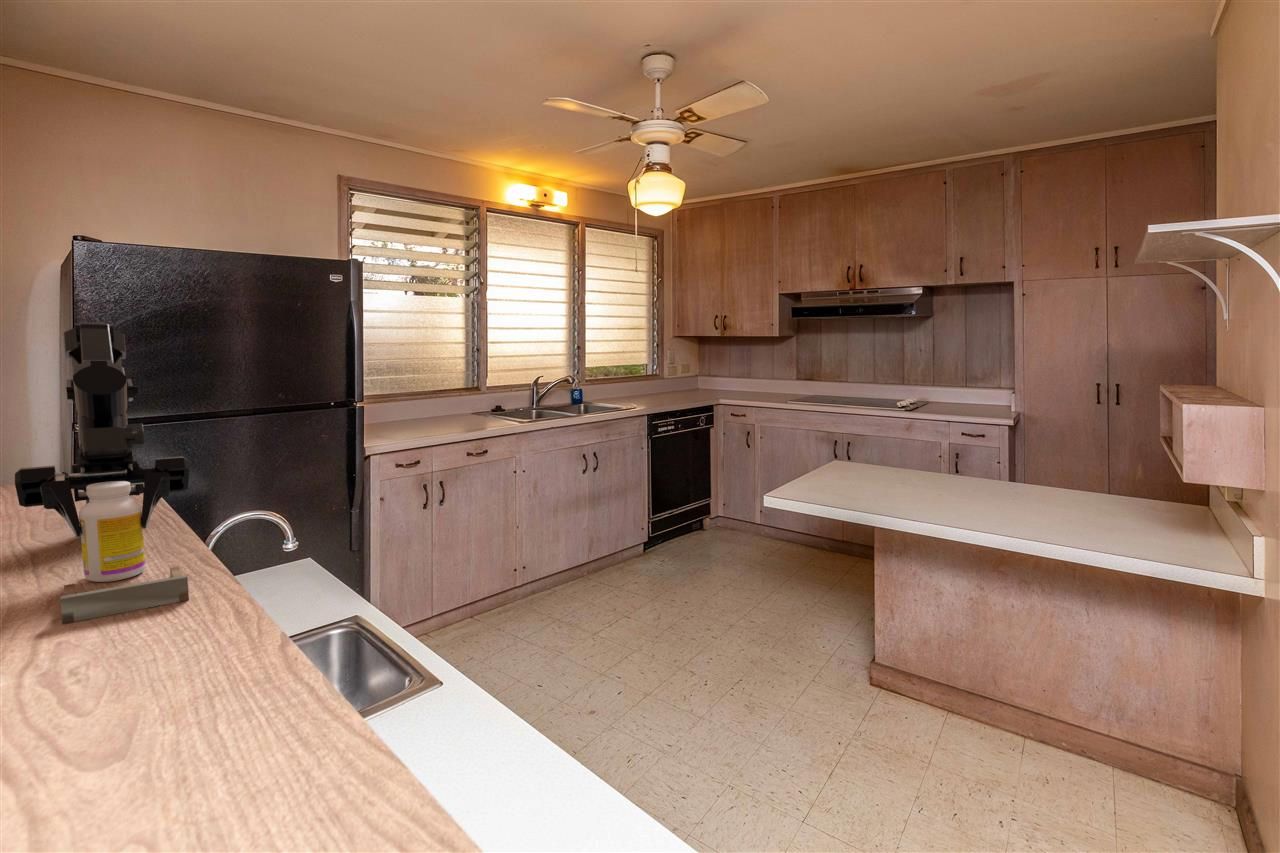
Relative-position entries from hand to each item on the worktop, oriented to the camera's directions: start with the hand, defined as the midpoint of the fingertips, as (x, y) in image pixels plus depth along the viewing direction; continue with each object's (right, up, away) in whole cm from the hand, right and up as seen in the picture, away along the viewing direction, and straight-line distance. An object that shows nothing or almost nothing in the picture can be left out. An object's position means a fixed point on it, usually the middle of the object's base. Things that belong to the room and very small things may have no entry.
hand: (112, 530), depth 88 cm
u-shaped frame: (+6, -8, -5) cm, 11 cm away
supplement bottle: (-1, -7, +2) cm, 7 cm away
